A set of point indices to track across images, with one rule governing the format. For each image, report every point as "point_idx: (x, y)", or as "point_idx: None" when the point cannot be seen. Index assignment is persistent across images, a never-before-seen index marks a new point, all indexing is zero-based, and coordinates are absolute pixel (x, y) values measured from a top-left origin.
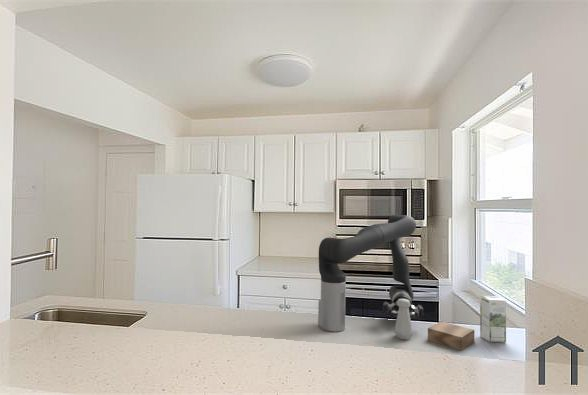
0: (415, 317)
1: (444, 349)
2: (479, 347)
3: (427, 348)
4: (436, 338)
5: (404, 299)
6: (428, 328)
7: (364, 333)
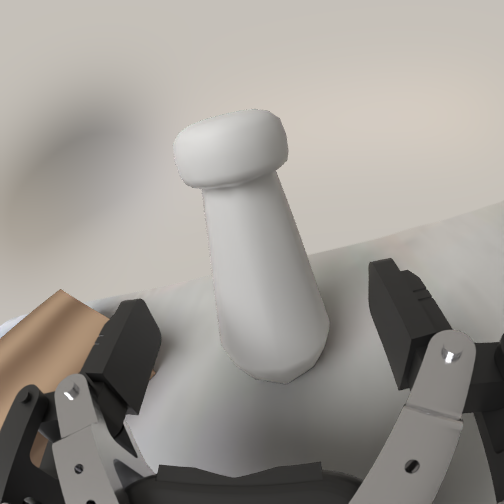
0: (154, 331)
1: None
2: None
3: (189, 298)
4: None
5: (214, 117)
6: None
7: (472, 301)
